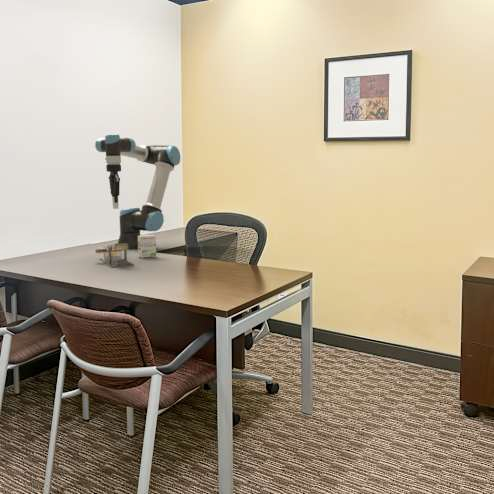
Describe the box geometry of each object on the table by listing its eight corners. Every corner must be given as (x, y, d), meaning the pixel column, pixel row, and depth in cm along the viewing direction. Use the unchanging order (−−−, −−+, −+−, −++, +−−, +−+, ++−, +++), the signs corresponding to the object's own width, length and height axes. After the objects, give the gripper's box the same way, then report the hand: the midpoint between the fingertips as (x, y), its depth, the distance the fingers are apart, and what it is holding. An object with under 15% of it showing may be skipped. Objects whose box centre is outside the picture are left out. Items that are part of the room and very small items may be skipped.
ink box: (152, 255, 305) (152, 234, 303) (156, 257, 300) (156, 235, 299) (137, 257, 300) (137, 235, 298) (141, 258, 296) (140, 236, 294)
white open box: (116, 256, 300) (116, 245, 299) (122, 260, 291) (121, 248, 290) (99, 258, 296) (99, 246, 295) (104, 261, 287) (103, 249, 286)
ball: (113, 256, 294) (114, 250, 293) (115, 259, 291) (116, 253, 290) (107, 256, 293) (107, 250, 291) (108, 260, 290) (109, 254, 288)
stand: (103, 261, 285) (102, 245, 284) (124, 260, 290) (124, 244, 289) (111, 267, 270) (111, 250, 269) (134, 265, 275) (133, 248, 274)
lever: (95, 253, 284) (95, 247, 284) (118, 251, 289) (118, 245, 289) (103, 250, 268) (103, 244, 268) (128, 249, 273) (127, 243, 273)
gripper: (103, 163, 299) (105, 207, 303) (109, 164, 288) (112, 210, 292) (117, 163, 302) (119, 206, 307) (124, 164, 291) (126, 209, 296)
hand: (115, 208), depth 299 cm, fingers closed
